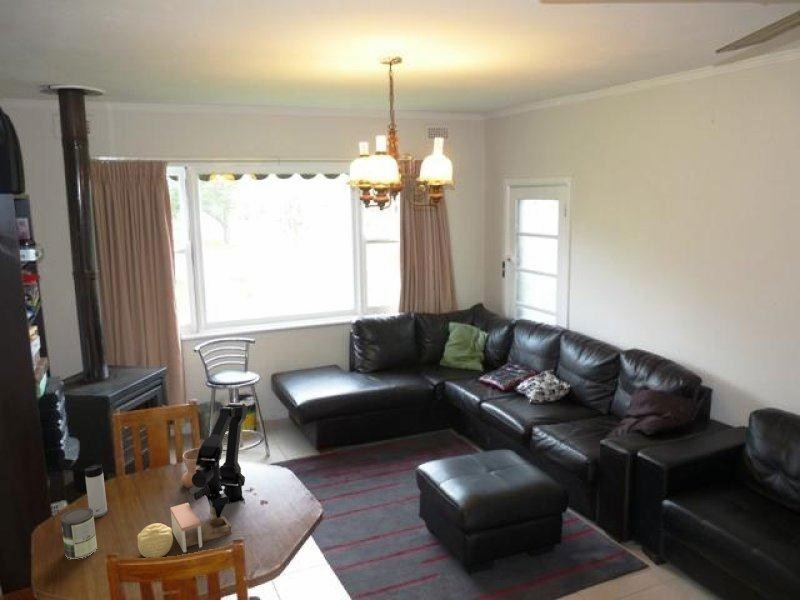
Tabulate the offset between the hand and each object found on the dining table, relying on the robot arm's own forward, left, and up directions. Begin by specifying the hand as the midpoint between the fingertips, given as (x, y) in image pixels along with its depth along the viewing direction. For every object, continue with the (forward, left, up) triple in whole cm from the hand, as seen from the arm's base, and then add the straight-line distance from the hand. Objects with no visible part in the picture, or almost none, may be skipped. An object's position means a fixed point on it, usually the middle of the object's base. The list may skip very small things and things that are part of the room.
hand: (215, 513), depth 245 cm
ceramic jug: (-3, -33, -3) cm, 33 cm away
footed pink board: (+13, +8, -2) cm, 15 cm away
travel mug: (+37, -30, -3) cm, 48 cm away
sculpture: (+24, +11, -3) cm, 27 cm away
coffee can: (+46, -5, -3) cm, 46 cm away
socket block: (+6, +9, -2) cm, 11 cm away
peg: (0, 0, -3) cm, 3 cm away
